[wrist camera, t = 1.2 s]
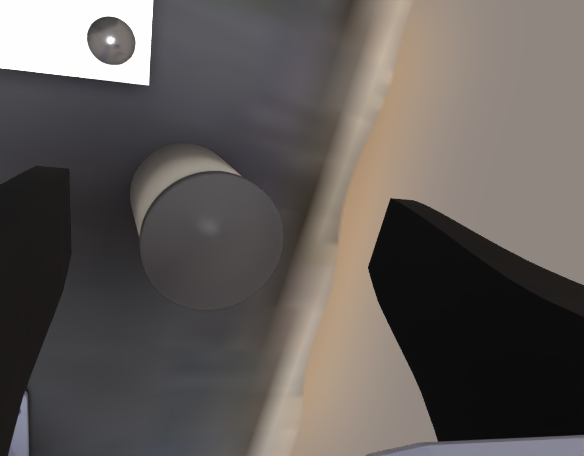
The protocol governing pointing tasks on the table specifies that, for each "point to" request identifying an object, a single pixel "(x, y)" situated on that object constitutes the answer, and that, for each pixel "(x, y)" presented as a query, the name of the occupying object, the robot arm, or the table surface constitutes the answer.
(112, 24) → the square housing with collar
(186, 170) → the lens
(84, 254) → the table surface
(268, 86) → the table surface
